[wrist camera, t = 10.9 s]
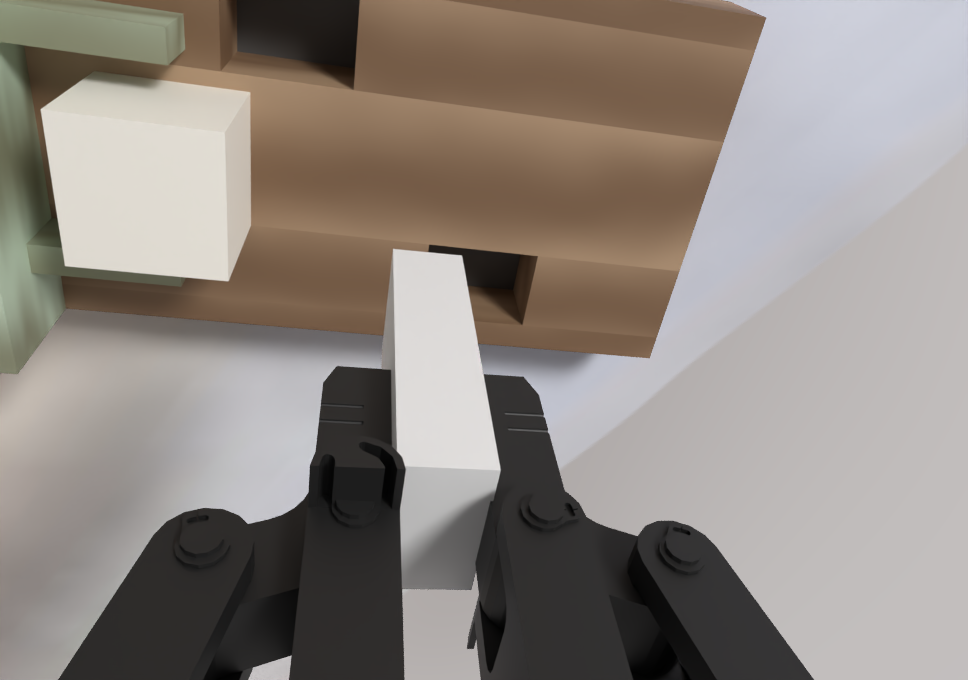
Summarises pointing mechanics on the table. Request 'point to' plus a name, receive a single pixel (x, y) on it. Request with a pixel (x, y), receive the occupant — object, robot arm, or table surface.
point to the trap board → (400, 156)
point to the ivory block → (150, 175)
